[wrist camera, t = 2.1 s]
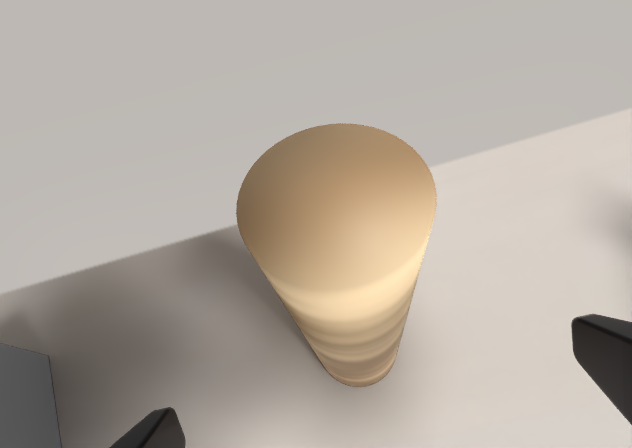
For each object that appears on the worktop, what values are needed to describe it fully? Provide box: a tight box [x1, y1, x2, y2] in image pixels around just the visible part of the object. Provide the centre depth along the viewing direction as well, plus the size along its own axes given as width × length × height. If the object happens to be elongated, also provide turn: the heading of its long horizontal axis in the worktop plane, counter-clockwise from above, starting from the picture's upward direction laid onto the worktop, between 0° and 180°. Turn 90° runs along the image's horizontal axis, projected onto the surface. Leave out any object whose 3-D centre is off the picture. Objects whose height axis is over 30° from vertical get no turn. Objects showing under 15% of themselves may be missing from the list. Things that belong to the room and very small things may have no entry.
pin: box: [236, 124, 436, 387], centre depth 13 cm, size 4×4×13 cm
